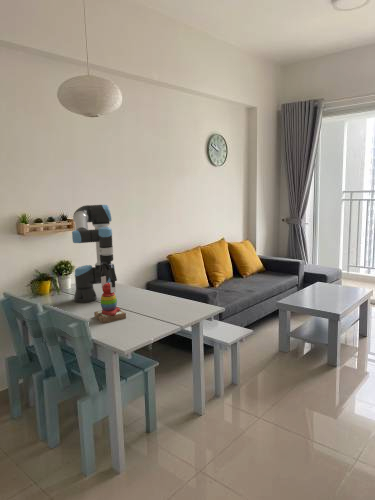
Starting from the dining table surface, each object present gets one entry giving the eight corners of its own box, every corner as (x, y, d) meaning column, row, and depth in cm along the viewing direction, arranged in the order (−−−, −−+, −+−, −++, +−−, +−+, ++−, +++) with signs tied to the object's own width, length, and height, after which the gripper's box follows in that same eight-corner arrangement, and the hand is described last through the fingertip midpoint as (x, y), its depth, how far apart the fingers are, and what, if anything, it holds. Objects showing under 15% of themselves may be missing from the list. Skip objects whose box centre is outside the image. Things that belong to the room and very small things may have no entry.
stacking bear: (114, 316, 221) (112, 286, 218) (98, 315, 223) (96, 285, 220) (121, 310, 231) (119, 281, 228) (105, 309, 234) (104, 280, 231)
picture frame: (94, 316, 230) (94, 311, 229) (116, 312, 237) (116, 307, 237) (103, 323, 218) (103, 318, 218) (126, 318, 226) (125, 313, 225)
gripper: (92, 251, 229) (94, 286, 233) (108, 258, 209) (111, 295, 213) (104, 250, 233) (106, 283, 237) (121, 256, 213) (123, 293, 217)
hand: (108, 289), depth 225 cm, fingers open, 13 cm apart
